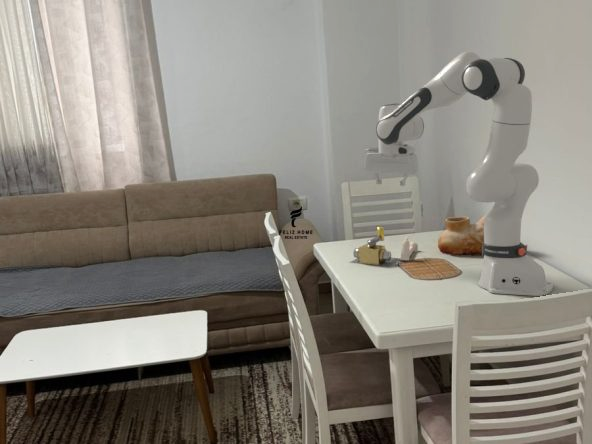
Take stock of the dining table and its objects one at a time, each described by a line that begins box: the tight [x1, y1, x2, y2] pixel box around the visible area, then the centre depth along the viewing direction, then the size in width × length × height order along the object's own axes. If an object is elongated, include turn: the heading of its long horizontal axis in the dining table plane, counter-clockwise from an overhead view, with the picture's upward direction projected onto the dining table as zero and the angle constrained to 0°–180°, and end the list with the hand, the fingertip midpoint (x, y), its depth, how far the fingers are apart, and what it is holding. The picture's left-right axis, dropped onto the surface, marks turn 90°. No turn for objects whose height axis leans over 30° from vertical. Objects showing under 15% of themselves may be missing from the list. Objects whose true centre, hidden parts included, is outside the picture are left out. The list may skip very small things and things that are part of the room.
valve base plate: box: [349, 257, 401, 268], centre depth 235 cm, size 16×12×1 cm
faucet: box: [400, 235, 419, 262], centre depth 240 cm, size 4×18×10 cm, turn 158°
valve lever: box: [367, 226, 385, 247], centre depth 235 cm, size 11×3×6 cm, turn 147°
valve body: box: [353, 243, 392, 266], centre depth 233 cm, size 14×6×6 cm, turn 57°
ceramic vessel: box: [437, 213, 488, 257], centre depth 240 cm, size 14×26×15 cm, turn 81°
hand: (390, 184), depth 232 cm, fingers open, 8 cm apart
